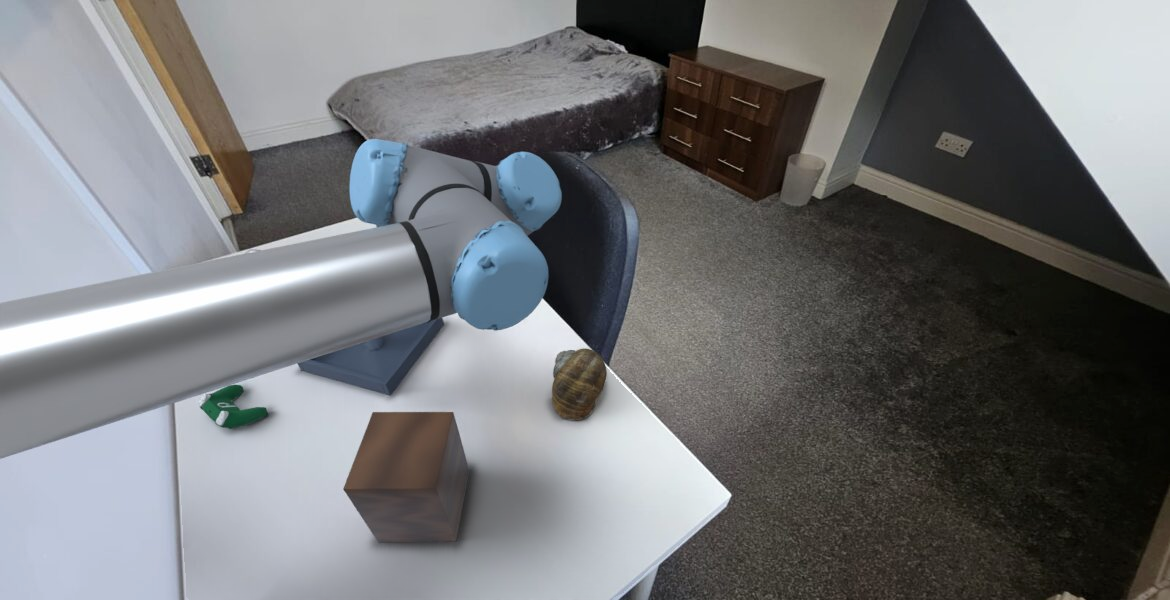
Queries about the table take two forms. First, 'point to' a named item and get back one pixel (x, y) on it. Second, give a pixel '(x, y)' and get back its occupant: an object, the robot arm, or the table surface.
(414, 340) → the tray
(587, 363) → the seashell
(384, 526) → the block
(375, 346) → the milkshake
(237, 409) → the gaming controller
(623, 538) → the table surface
